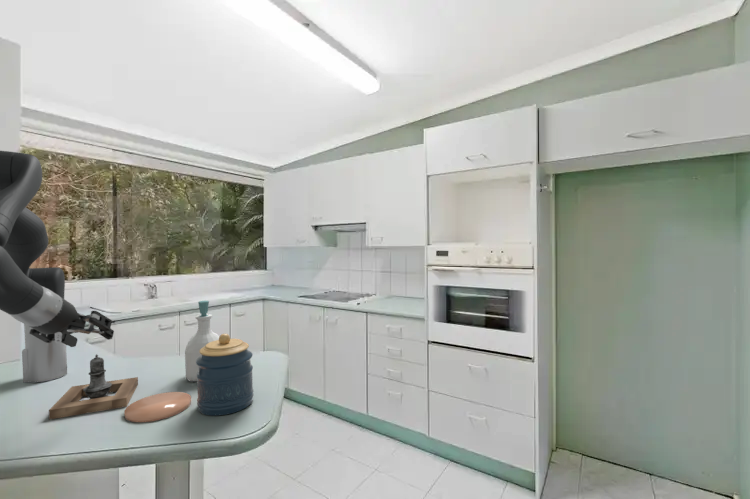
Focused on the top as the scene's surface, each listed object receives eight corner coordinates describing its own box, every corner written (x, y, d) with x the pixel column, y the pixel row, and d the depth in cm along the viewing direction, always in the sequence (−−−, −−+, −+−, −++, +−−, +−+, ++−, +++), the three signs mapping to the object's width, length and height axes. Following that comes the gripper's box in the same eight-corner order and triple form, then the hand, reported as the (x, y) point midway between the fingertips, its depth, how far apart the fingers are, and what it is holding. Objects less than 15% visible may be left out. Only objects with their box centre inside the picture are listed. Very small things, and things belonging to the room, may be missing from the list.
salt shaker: (97, 406, 91) (95, 358, 90) (77, 404, 92) (75, 357, 91) (118, 396, 96) (116, 351, 96) (99, 394, 98) (97, 350, 97)
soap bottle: (224, 369, 116) (222, 297, 115) (220, 380, 106) (218, 302, 106) (191, 372, 113) (189, 299, 112) (184, 384, 104) (181, 304, 103)
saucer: (118, 427, 80) (117, 423, 80) (131, 402, 93) (131, 398, 93) (189, 414, 86) (189, 410, 86) (192, 391, 98) (192, 388, 98)
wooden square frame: (49, 419, 84) (48, 410, 84) (72, 394, 98) (71, 386, 98) (126, 406, 90) (126, 397, 90) (138, 384, 104) (137, 377, 104)
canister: (259, 407, 89) (257, 335, 88) (200, 422, 82) (198, 344, 81) (247, 389, 100) (245, 325, 99) (194, 401, 93) (192, 332, 92)
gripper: (82, 287, 79) (126, 319, 92) (12, 300, 78) (67, 331, 91) (72, 318, 75) (120, 347, 88) (-2, 332, 74) (58, 360, 87)
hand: (93, 339), depth 90 cm, fingers open, 8 cm apart
